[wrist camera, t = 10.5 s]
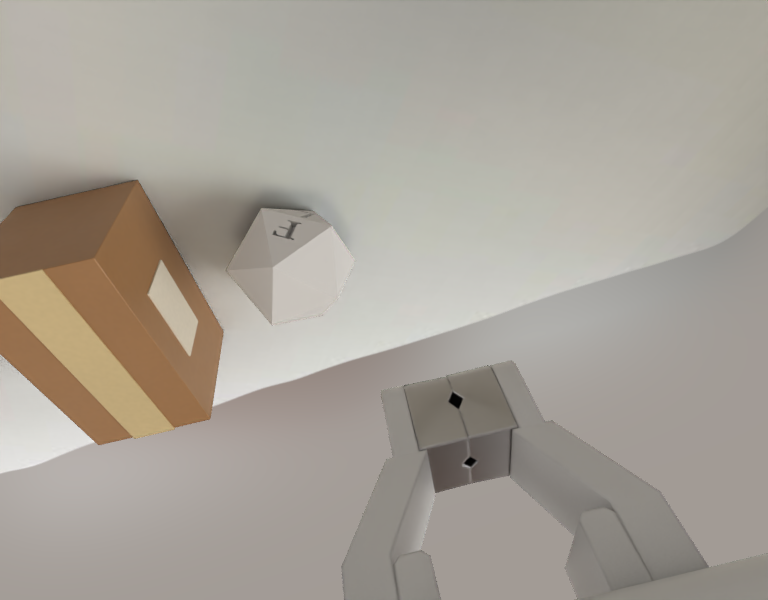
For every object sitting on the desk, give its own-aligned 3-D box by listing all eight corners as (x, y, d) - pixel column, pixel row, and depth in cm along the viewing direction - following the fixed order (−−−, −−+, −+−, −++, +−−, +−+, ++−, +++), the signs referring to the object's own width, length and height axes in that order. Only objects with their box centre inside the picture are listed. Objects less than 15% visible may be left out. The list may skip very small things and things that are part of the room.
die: (368, 225, 39) (350, 215, 30) (344, 325, 41) (319, 348, 31) (274, 202, 40) (225, 184, 30) (253, 301, 41) (199, 315, 31)
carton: (139, 178, 33) (94, 258, 25) (225, 332, 44) (212, 420, 36) (14, 206, 33) (-68, 294, 25) (131, 353, 44) (98, 447, 36)
